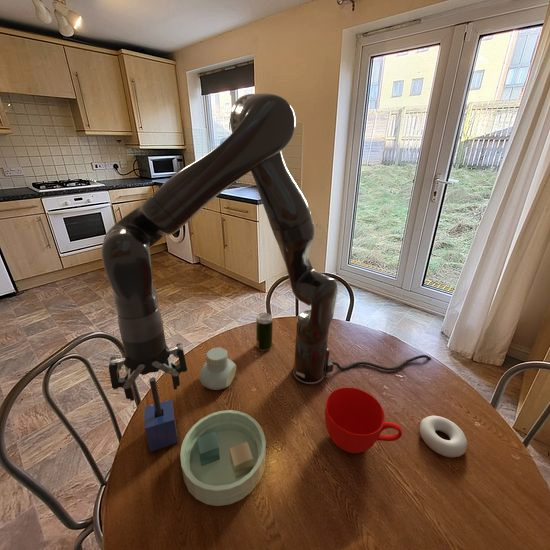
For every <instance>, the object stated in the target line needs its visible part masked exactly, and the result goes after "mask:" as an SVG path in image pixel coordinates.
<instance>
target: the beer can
mask: <svg viewBox="0 0 550 550" xmlns="http://www.w3.org/2000/svg"><path fill="white" fill-rule="evenodd" d="M273 321H274V319H273V316H272V314H271V313H268V312H260V313H258V314H257V315H256V322H255V323H256V324H255V325H256V329H255V330H256V331H255V332H256V333H255V335H256V339H255V340H256V341H255V343H256V344H255V345H256V348H257V349H258V350H259V351H262V352H266V351H269V350H271V348H272V347H273Z"/></svg>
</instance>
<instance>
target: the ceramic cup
mask: <svg viewBox="0 0 550 550" xmlns="http://www.w3.org/2000/svg"><path fill="white" fill-rule="evenodd" d="M385 414H386V413H385V411H384V408H383V406H382V405H381V403H380V402H379V400H377V398H375V397H374V396H373V395H371V394H370V393H369V392H366V391H365V390H362V389H360V388H355V387H349V386H347V387H346V386H345V387H340V388H337V389H335V390H333V391H332V392H330V393H329V395H328V396H327V398H326V400H325V405H324V422H325V427H326V431H327V433H328V436H329V438H330V440H331V441H332V442H333V443H334V444H335V445H336V446H337V447H338V448H339V449H340V450H342V451H345V452H347V453H351V454H361V453H364V452H366V451H368V450H370V449H371V448H372V447H373V446H374V445H375V444H376V443H377V441H379V442H394V441H398V440H399V439H400V438H401V437H402V435H403V429H402V427H401V426H400V424H397V423H396V422H391V421H386V415H385ZM387 429H393V430H396V431H397V432H396V433H394V434H390V435H388V434H382V432H383V431H385V430H387Z"/></svg>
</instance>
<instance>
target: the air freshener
mask: <svg viewBox="0 0 550 550" xmlns="http://www.w3.org/2000/svg"><path fill="white" fill-rule="evenodd" d="M228 357H229V356H228V350H227V349H225V348H223V347H213V348H211V349H209V350H208V351H207V352H206V354H205V359H206V361H205V363H204V364H203V366H202V367H201V369H200V371H199V375H198V381H199V382H200V383H201V385H202V386H203V387H205V388H206V389H208V390H214V391H219V390H224V389H227V388H228V387H229V386H230V385H231V384H232V382H233V380H234V378H235V376H236V373H237V365H236V363H235V362H234V361H233V360H232V359H230V358H228Z"/></svg>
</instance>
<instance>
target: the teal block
mask: <svg viewBox="0 0 550 550" xmlns="http://www.w3.org/2000/svg"><path fill="white" fill-rule="evenodd" d="M197 443H198V451H199V456H200V461H201V466H203V465H206V464H209V463H211V462H214V461H217V460H220V455H219V446H218V442H217V438H216V434H215V432H213V433H210V434H207V435H204V436H201V437H198V438H197Z"/></svg>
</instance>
